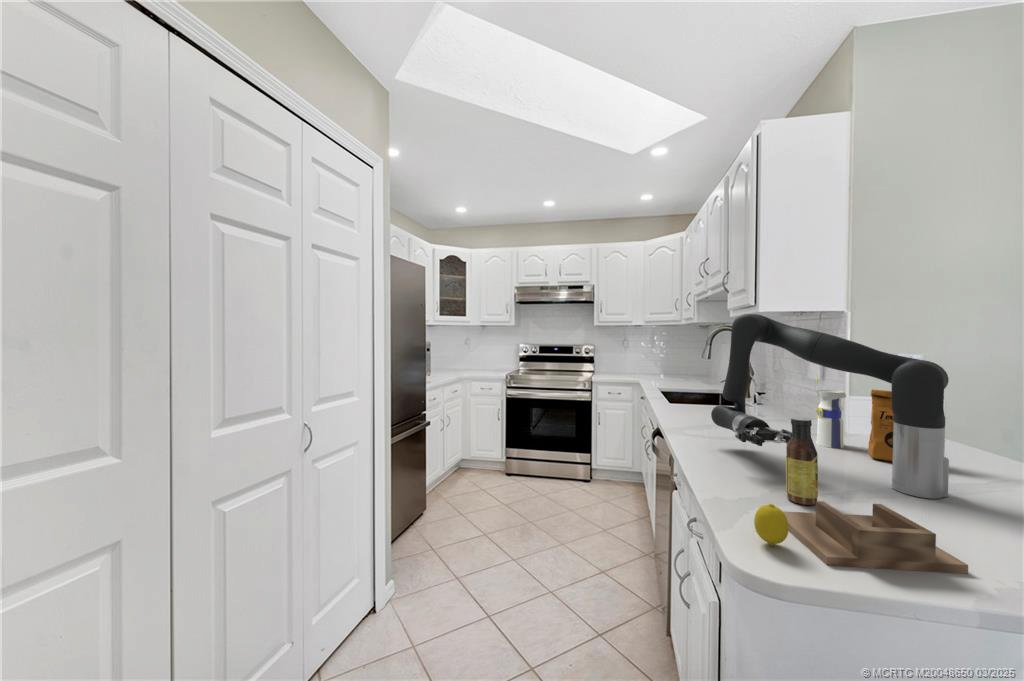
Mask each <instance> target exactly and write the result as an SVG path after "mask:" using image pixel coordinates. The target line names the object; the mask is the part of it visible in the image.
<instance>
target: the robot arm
mask: <svg viewBox="0 0 1024 681" xmlns="http://www.w3.org/2000/svg"><path fill="white" fill-rule="evenodd" d="M730 332H731V333H730V347H729V349H730V350H729V359H728V361H729V362H728V366H727V371H726V377H725V381H724V385H723V390H722V393H721V394H722V397H723V399H725V400H726V401H729V402H730V403H734V406H727V405H720V404H719V405H715V406H714V407H713V409H712V411H711V412H710V414H711V416H710V417H711V420H712V422H713V424H715V425H716V426H718V427H721V428H723V429H727V430H730V431H732V432H734V433H735V435H734V437H735V438H736V439H738V440H739V441H740V442H742V443H747V442H749V443H750V444H753V445H757V446H758V447H763V443H766V442H767V443H775V444H778V445H780V444H786V445H787V443H788V442H789V440H790V439H791V437H792V431H789V430H787V429H784V428H782V429H781V430H777V429H773V428H772V427H770V426H769V424H768V423H767V421H765V420H763V419H762V418H761V419H760V418H759V417H756V416H754V415H752V414H748V413H747V412H746V411H747V410H746V396H747V393H748V389H749V385H750V379H751V373H750V372H751V370H750V357H751V353H752V349H753V347H754V344H755V342H757V343H764V344H769V345H770V346H775V347H778V348H779V347H780V348H782V349H784V350H786V351H788V352H789V353H791V354H793V355H795V356H797V357H798V358H800V359H802V360H805V361H807V362H810V363H812V364H814V365H815V364H816V365H818V366H821V367H825V368H827V369H832V370H836V371H840V372H841V371H842V372H846V373H851V374H858V375H861V376H862V375H864V376H868V377H871V378H875V379H877V380H881V381H883V382H886V383H887V384H888V383H889V384H891V391H892V412H893V421H894V422H893V462H891V463H892V468H891V469H892V471H891V475H892V476H891V487H892V489H893V490H895V491H897V492H899V493H903V494H904V495H905V494H906V495H909V496H912V497H913V496H914V497H918V498H923V499H931V500H932V499H934V500H936V499H937V500H938V499H943V498H948V497H949V477H950V476H949V472H950V470H949V469H950V460H949V458H948V457H945V444H946V442H945V441H946V415H945V410H944V409H945V408H944V406H945V405H944V404H945V402H944V401H945V400H944V398H945V389H946V388H947V386H948V385H949V381H950V380H949V379H950V378H949V376H948V373H947V371H946V369H945V368H944V367H942V366H941V365H940V364H937V363H935V362H932V361H930V360H926V359H925V360H924V359H918V358H912V357H909V356H908V357H907V356H902V355H898V354H894V353H889V352H886V351H885V352H884V351H881V350H878V349H875V348H872V347H870V346H866V345H864V344H862V343H858V342H855V341H852V340H850V339H847V338H843V337H840V336H837V335H832V334H829V333H826V332H820V331H817V330H813V329H807V328H803V327H796V326H792V325H789V324H786V323H782V322H780V321H777V320H775V319H771V318H770V317H767V316H765V315H762V314H758V313H748V314H747V313H745V314H741V315H739V316H737V317H736V318H735V319H734V320H733V323H732V325H731V331H730Z"/></svg>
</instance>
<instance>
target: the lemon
mask: <svg viewBox="0 0 1024 681" xmlns="http://www.w3.org/2000/svg"><path fill="white" fill-rule="evenodd" d="M753 521H754V523H753V524H754V528H755V532H756V534H757V535H758V536H759V538H760V539H761V540H763V541H764V542H766V543H767V545H769V546H774V545H777V544H781V543H783V542H784V541H785V540H786V539H787V537H788V535H789V531H788V521H787V518H786V516H785V514H784V513H783V510H782V509H780V508H779V507H777V506H776V505H774V504H773V503H768V504H764V505H761V506H760V507H758V509H757V510H756V511H755V514H754V520H753Z"/></svg>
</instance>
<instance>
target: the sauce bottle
mask: <svg viewBox="0 0 1024 681" xmlns="http://www.w3.org/2000/svg"><path fill="white" fill-rule="evenodd" d="M790 423H791V432H792V437H791V439H790V440H789V442H788V443H787V444H786V449H785V450H786V456H785V484H786V485H785V492H786V497H787V499H788V500H789V501H791V502H792V501H793V502H792V503H795V504H797V503H798V504H797V505H801V504H802V505H803V506H816V501H818V497H819V483H818V482H819V476H818V475H819V473H818V472H819V470H818V469H819V465H818V464H819V460H818V459H819V458H818V456H819V455H818V451H817V449H816V446H815V444H814V440H813V438H812V432H811V430H812V428H811V427H812V419H810V418H806V417H797V416H796V417H791V418H790Z"/></svg>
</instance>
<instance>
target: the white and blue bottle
mask: <svg viewBox="0 0 1024 681" xmlns="http://www.w3.org/2000/svg"><path fill="white" fill-rule="evenodd" d="M818 376H819V375H818V373H817V374H816V376H815V384H818V379H819V378H818ZM816 393H817V398H819V399H820V402H819V405H818V406H817V407H818V408H817V409H816V416H817V425H816V426H817V430H816V432H817V433H816V442H815V444H816V445H818V446H820V445H821V447H824V446H825V448H829V447H830V448H832V449H844V448H845V447H844V446H845V445H844V444H845V443H844V421H843V418H842V412H843V410H844V408H843V407H842V399H844V398H845V399H846V398H847V394H846V392H845V391H843V390H836V389H817V390H816Z"/></svg>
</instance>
